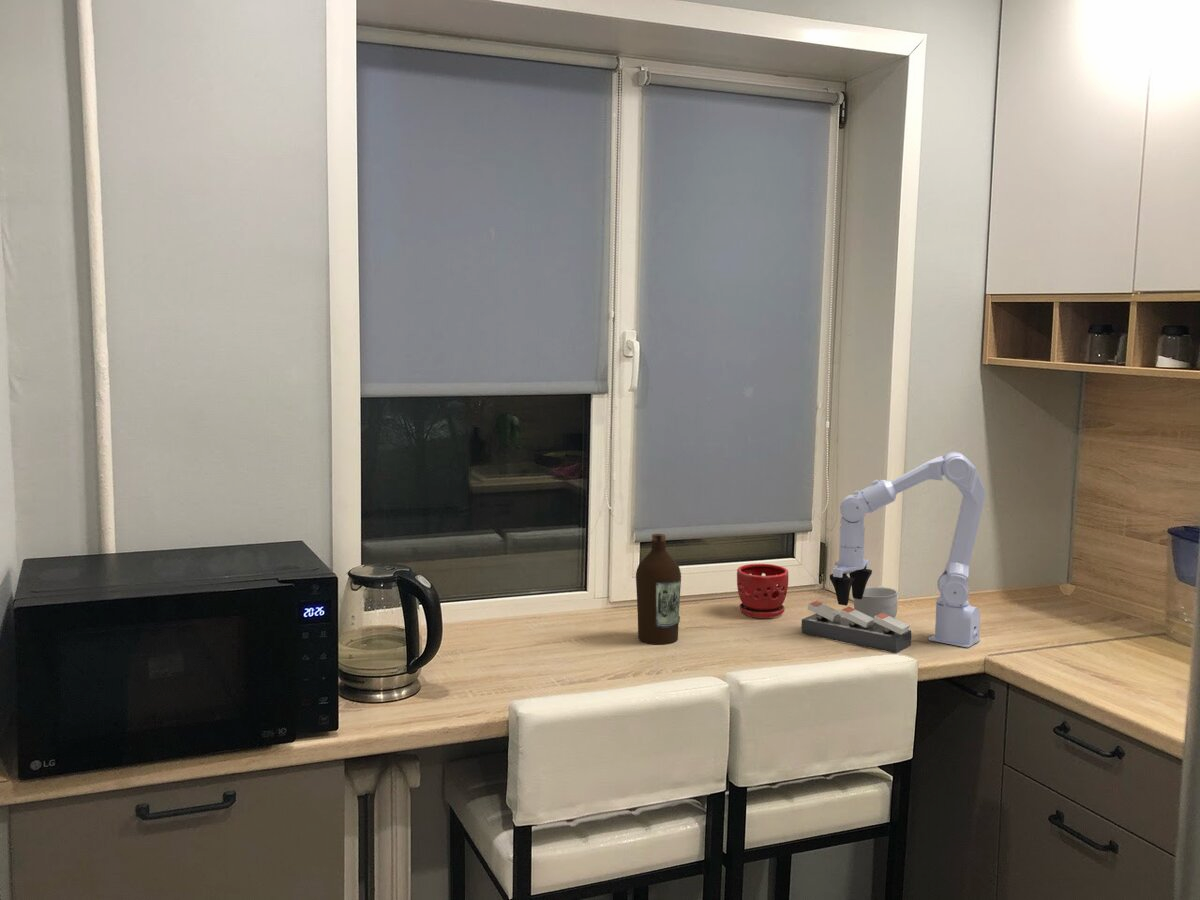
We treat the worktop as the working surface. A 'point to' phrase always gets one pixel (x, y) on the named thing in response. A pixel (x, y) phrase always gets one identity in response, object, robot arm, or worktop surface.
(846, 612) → the block
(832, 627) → the switch panel
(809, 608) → the rocker
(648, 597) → the olive oil
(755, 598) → the plant pot
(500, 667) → the worktop surface
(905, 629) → the block
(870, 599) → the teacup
